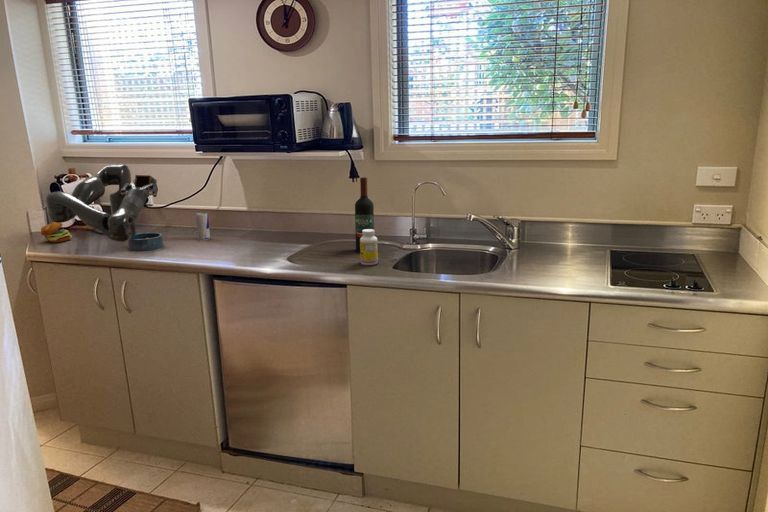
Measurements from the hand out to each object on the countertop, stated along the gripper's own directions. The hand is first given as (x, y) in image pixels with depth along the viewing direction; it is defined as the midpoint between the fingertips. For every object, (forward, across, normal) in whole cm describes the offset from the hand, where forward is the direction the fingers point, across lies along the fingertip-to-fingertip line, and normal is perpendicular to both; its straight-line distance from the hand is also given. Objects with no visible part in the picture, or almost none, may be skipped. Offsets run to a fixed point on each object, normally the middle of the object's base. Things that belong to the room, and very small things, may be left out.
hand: (145, 180), depth 236 cm
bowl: (-13, +1, +26) cm, 29 cm away
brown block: (+2, 0, +4) cm, 5 cm away
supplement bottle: (-41, -92, +9) cm, 101 cm away
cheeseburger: (+3, +47, +36) cm, 59 cm away
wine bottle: (-22, -91, +17) cm, 96 cm away
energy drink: (+1, -19, +31) cm, 37 cm away
